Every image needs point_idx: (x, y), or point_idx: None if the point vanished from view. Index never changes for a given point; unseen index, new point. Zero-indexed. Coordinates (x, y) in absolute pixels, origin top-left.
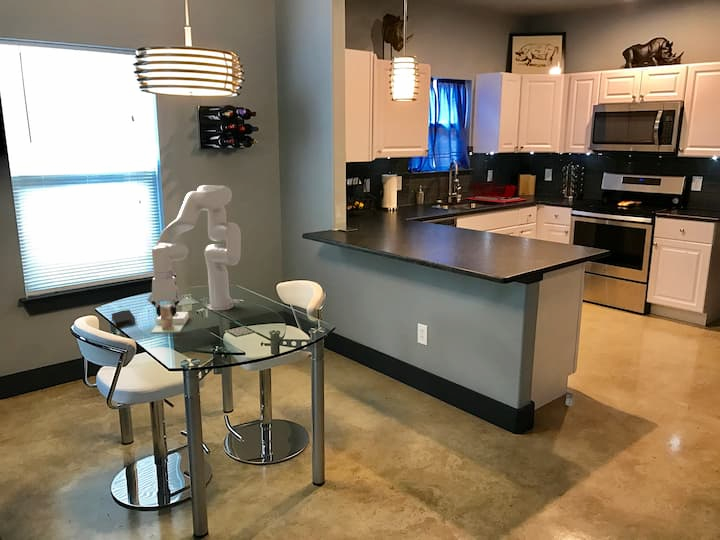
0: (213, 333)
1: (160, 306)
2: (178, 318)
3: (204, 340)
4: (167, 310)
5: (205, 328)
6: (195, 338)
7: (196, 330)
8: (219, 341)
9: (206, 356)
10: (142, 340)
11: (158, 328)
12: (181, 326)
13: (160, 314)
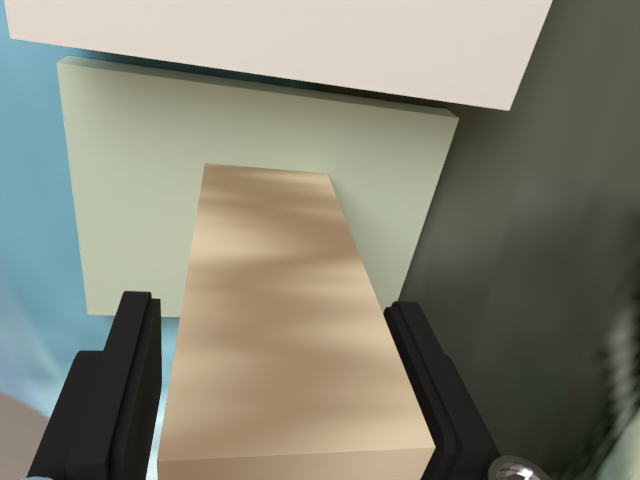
0: (625, 340)
1: (123, 473)
2: (428, 98)
3: (523, 437)
4: None
5: (626, 220)
6: (480, 408)
7: (535, 259)
8: (593, 451)
9: None
10: None
11: (143, 213)
12: (420, 194)
13: (158, 361)
